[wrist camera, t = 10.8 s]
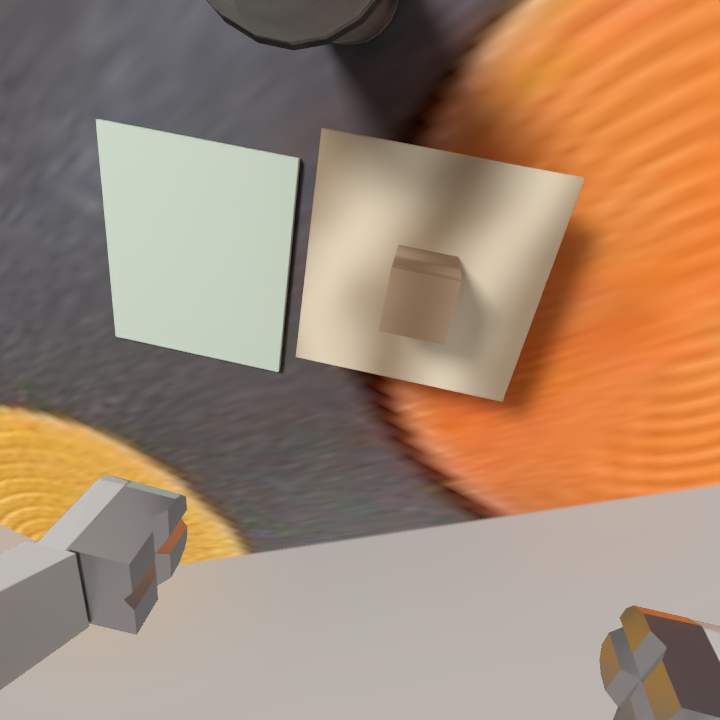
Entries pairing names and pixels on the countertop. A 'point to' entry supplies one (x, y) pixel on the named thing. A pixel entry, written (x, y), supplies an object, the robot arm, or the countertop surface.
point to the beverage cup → (307, 20)
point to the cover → (427, 261)
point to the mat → (198, 242)
